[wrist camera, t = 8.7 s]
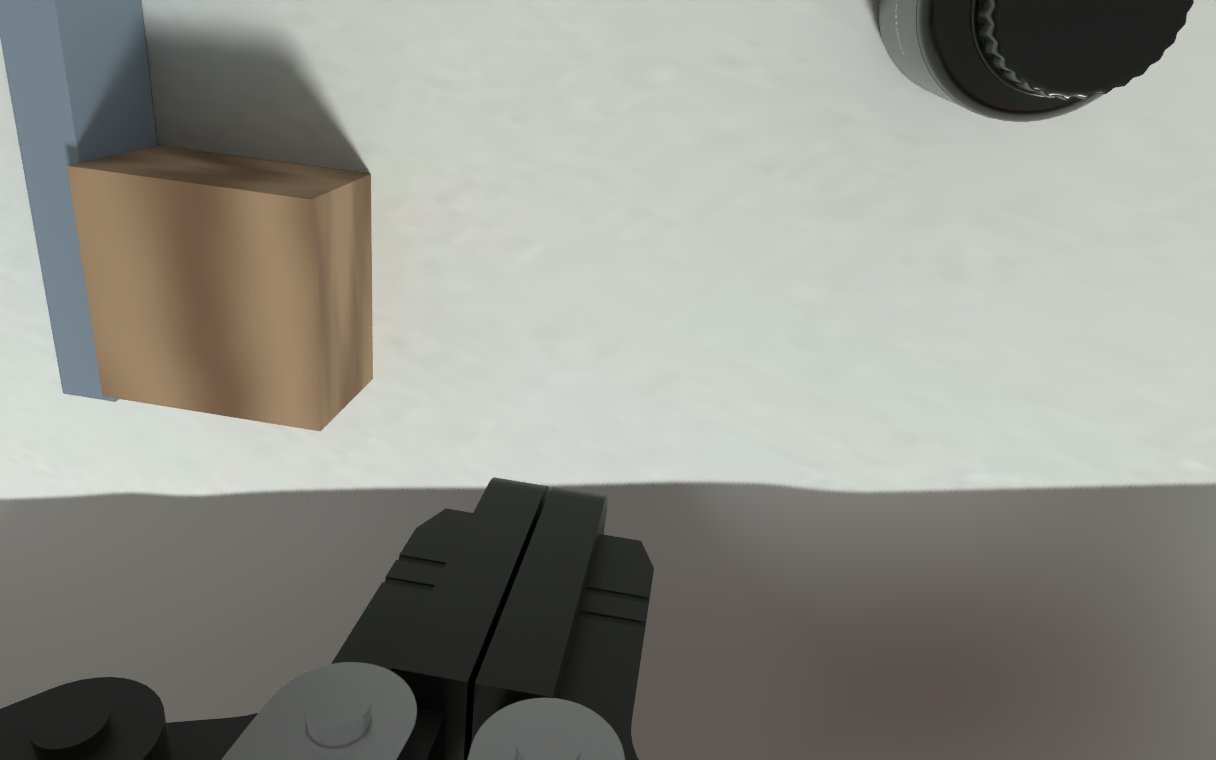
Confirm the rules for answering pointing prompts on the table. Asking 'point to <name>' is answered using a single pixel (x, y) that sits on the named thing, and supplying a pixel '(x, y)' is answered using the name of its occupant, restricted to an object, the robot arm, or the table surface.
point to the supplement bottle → (1027, 49)
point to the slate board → (73, 138)
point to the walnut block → (227, 282)
